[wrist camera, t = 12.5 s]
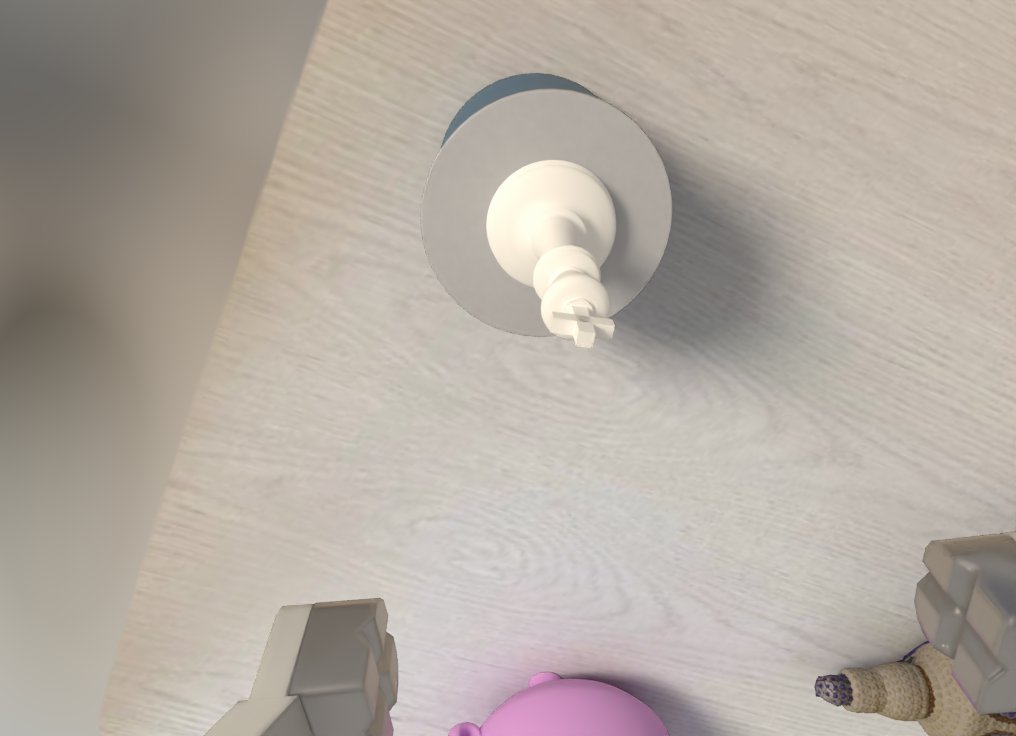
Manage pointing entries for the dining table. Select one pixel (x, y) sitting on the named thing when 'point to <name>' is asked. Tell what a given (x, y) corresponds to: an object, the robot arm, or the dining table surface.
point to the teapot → (568, 712)
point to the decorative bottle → (914, 695)
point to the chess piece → (557, 244)
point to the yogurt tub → (517, 143)
